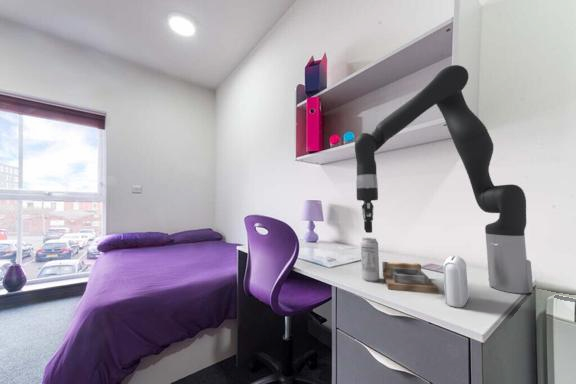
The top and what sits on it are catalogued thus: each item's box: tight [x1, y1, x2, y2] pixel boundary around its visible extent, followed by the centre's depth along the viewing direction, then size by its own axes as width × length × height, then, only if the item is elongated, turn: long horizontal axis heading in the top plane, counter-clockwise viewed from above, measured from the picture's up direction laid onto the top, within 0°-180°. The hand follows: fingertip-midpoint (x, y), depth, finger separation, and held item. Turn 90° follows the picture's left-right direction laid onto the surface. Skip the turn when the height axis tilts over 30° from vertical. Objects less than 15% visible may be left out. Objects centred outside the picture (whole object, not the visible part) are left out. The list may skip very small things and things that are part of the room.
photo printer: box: [443, 255, 469, 309], centre depth 63 cm, size 10×4×12 cm, turn 134°
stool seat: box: [382, 267, 440, 295], centre depth 76 cm, size 14×13×4 cm
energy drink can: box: [360, 237, 380, 283], centre depth 82 cm, size 6×6×15 cm
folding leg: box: [381, 261, 422, 274], centre depth 84 cm, size 13×2×5 cm, turn 78°
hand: (368, 231), depth 83 cm, fingers open, 8 cm apart
